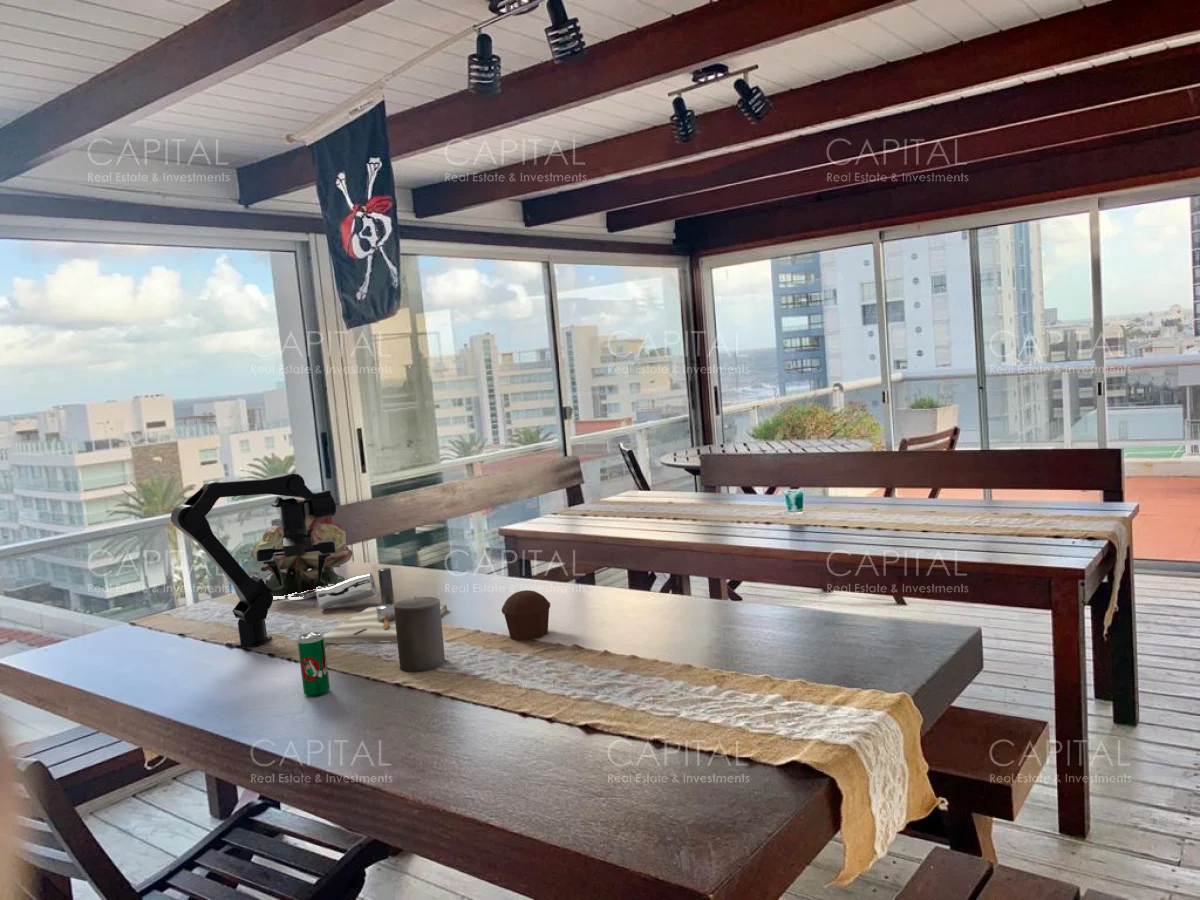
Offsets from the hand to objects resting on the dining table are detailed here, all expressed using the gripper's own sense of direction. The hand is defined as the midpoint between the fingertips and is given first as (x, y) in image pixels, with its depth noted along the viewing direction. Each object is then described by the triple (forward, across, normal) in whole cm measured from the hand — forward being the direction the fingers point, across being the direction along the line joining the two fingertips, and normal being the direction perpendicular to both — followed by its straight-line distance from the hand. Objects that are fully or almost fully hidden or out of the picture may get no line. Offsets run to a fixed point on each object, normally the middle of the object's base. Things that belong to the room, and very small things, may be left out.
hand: (300, 583), depth 228 cm
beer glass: (+9, +2, +19) cm, 21 cm away
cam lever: (+10, +20, -8) cm, 24 cm away
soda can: (+12, +6, -52) cm, 54 cm away
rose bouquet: (+12, -1, +45) cm, 46 cm away
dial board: (+12, +20, -9) cm, 25 cm away
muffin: (+12, +52, -35) cm, 64 cm away
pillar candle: (+12, +28, -44) cm, 54 cm away
